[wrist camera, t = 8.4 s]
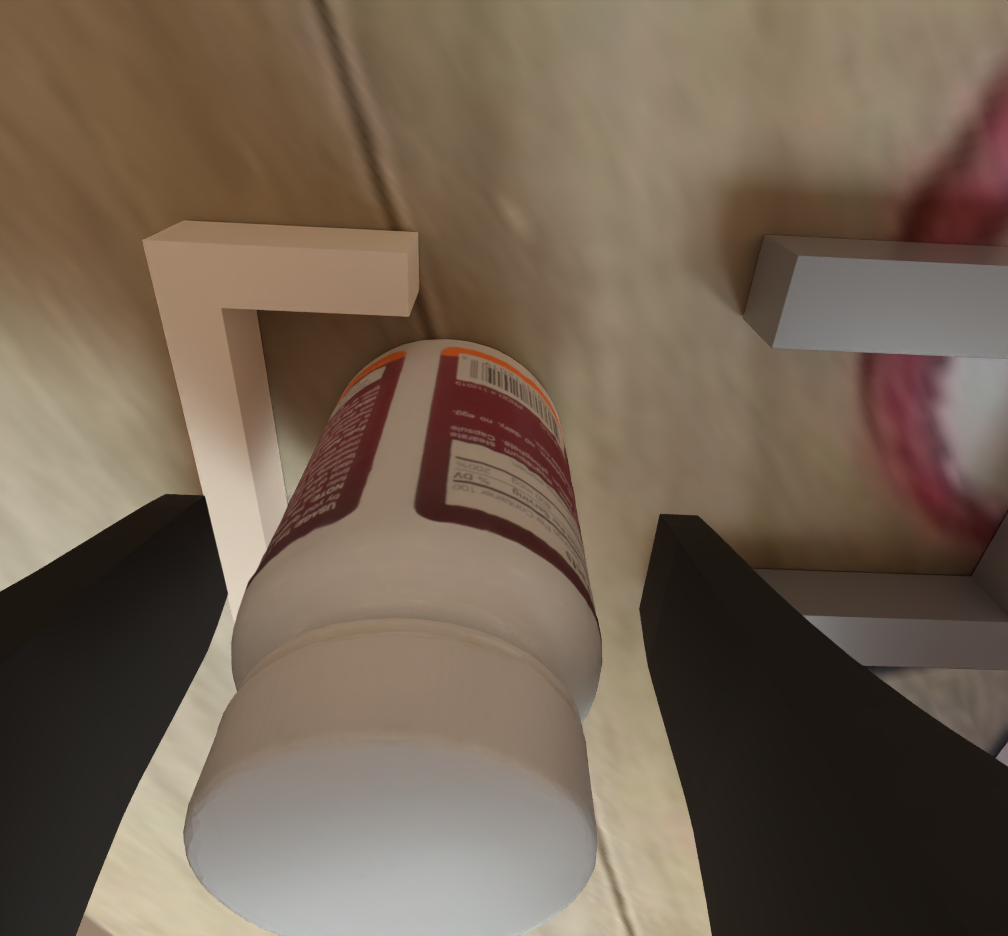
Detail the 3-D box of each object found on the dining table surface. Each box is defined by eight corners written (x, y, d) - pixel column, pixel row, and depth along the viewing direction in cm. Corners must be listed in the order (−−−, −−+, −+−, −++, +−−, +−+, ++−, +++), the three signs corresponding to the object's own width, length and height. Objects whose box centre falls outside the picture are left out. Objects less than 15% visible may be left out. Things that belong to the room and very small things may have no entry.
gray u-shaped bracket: (1302, 261, 11) (1403, 285, 10) (1050, 625, 16) (1097, 672, 15) (764, 234, 11) (798, 255, 10) (668, 612, 16) (683, 659, 15)
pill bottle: (369, 546, 15) (246, 990, 8) (303, 353, 12) (27, 744, 5) (575, 518, 14) (648, 960, 7) (549, 314, 12) (622, 679, 5)
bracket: (418, 232, 11) (407, 252, 10) (425, 597, 16) (418, 643, 14) (184, 220, 11) (141, 240, 10) (259, 591, 15) (237, 638, 14)
